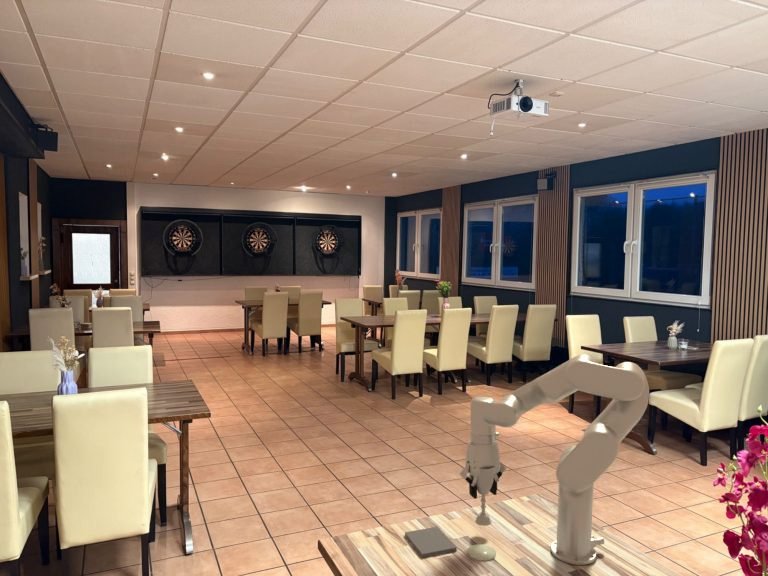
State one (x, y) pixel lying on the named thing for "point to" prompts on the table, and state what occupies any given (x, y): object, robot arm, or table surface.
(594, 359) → the robot arm
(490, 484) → the chalice
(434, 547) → the slate board
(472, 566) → the table surface
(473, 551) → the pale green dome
